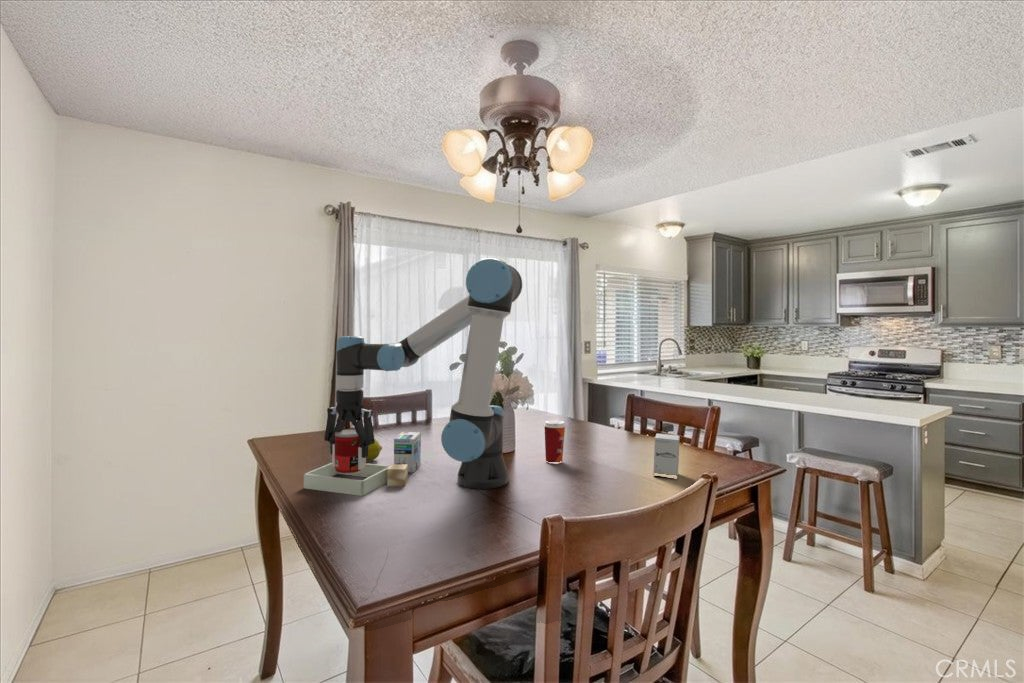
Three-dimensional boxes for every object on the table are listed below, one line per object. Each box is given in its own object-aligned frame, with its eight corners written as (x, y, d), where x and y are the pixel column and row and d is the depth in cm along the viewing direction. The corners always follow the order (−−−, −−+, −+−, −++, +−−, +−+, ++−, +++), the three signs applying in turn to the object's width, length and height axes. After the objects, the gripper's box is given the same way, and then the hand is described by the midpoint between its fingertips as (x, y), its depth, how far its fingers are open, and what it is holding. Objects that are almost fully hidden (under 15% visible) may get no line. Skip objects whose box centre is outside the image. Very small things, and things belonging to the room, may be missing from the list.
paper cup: (566, 465, 163) (566, 424, 163) (543, 464, 164) (544, 423, 163) (564, 459, 171) (564, 419, 171) (542, 458, 171) (543, 419, 171)
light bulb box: (414, 473, 153) (414, 439, 152) (392, 472, 153) (393, 438, 152) (421, 463, 163) (421, 431, 163) (401, 463, 163) (401, 431, 163)
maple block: (407, 480, 145) (407, 464, 145) (404, 486, 140) (405, 469, 140) (390, 480, 144) (390, 464, 144) (387, 486, 140) (387, 469, 139)
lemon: (381, 457, 170) (381, 434, 170) (383, 463, 163) (383, 439, 163) (348, 459, 166) (348, 436, 166) (349, 465, 159) (349, 441, 159)
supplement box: (652, 477, 152) (653, 437, 152) (655, 470, 159) (656, 432, 158) (677, 480, 149) (678, 439, 149) (678, 473, 156) (679, 434, 156)
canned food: (354, 474, 136) (354, 435, 136) (328, 472, 138) (329, 433, 138) (367, 466, 144) (368, 430, 144) (343, 464, 145) (343, 428, 145)
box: (392, 479, 146) (392, 466, 145) (362, 496, 131) (362, 481, 131) (337, 473, 151) (337, 460, 151) (303, 488, 136) (303, 474, 136)
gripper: (388, 389, 141) (387, 467, 142) (327, 385, 147) (327, 460, 148) (374, 393, 134) (373, 474, 134) (311, 388, 140) (310, 466, 140)
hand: (349, 466), depth 141 cm, fingers closed on canned food, 8 cm apart
